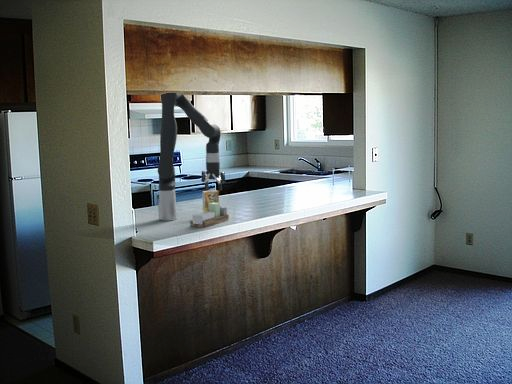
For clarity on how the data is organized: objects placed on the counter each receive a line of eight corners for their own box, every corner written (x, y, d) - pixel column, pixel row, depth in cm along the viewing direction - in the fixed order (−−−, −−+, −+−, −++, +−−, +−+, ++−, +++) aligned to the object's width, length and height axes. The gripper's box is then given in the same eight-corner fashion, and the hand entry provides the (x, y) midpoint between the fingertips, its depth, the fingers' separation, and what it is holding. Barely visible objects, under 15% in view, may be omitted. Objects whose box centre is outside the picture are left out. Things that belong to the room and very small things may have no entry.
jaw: (192, 223, 327) (192, 214, 326) (205, 219, 337) (204, 211, 337) (202, 224, 324) (202, 215, 323) (214, 220, 334) (214, 212, 334)
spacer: (209, 219, 339) (208, 203, 338) (213, 218, 343) (213, 202, 342) (215, 220, 337) (215, 204, 336) (220, 218, 341) (219, 203, 340)
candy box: (216, 215, 358) (215, 189, 356) (219, 216, 355) (218, 190, 353) (202, 217, 354) (201, 191, 352) (206, 218, 350) (205, 192, 348)
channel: (190, 226, 328) (189, 213, 327) (214, 218, 349) (213, 206, 348) (205, 227, 323) (204, 214, 322) (228, 219, 344) (228, 207, 343)
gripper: (198, 161, 336) (199, 190, 338) (220, 162, 329) (220, 191, 331) (205, 160, 342) (206, 188, 344) (227, 160, 335) (227, 190, 337)
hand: (213, 190), depth 338 cm, fingers open, 8 cm apart
